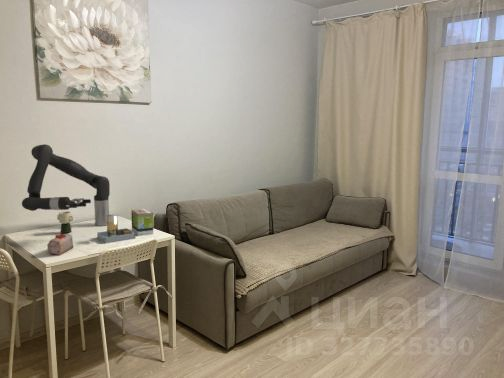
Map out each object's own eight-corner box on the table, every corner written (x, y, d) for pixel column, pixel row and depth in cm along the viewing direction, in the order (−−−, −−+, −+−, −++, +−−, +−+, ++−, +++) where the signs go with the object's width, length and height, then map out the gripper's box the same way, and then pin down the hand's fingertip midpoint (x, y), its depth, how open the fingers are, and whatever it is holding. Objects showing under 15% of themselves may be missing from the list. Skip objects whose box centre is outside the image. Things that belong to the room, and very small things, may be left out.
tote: (97, 239, 247) (97, 232, 246) (126, 234, 257) (126, 228, 257) (104, 244, 236) (104, 238, 235) (135, 239, 246) (135, 233, 246)
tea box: (154, 235, 257) (153, 212, 254) (138, 237, 251) (137, 213, 249) (146, 229, 269) (146, 207, 267) (131, 231, 264) (130, 209, 262)
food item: (60, 256, 215) (59, 238, 214) (46, 255, 216) (45, 237, 215) (74, 248, 229) (73, 231, 227) (61, 247, 230) (60, 230, 228)
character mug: (77, 231, 262) (76, 211, 260) (70, 234, 255) (69, 214, 253) (61, 230, 264) (60, 210, 262) (54, 233, 257) (53, 213, 255)
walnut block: (121, 235, 251) (121, 229, 250) (127, 234, 254) (127, 228, 253) (124, 238, 246) (124, 231, 246) (131, 237, 249) (131, 230, 248)
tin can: (105, 238, 246) (105, 215, 244) (116, 236, 249) (115, 214, 247) (109, 240, 241) (108, 217, 239) (119, 238, 245) (118, 215, 243)
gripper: (54, 199, 233) (83, 199, 234) (63, 194, 247) (91, 194, 248) (55, 212, 234) (84, 212, 235) (65, 206, 248) (92, 206, 249)
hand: (88, 202), depth 241 cm, fingers open, 8 cm apart
